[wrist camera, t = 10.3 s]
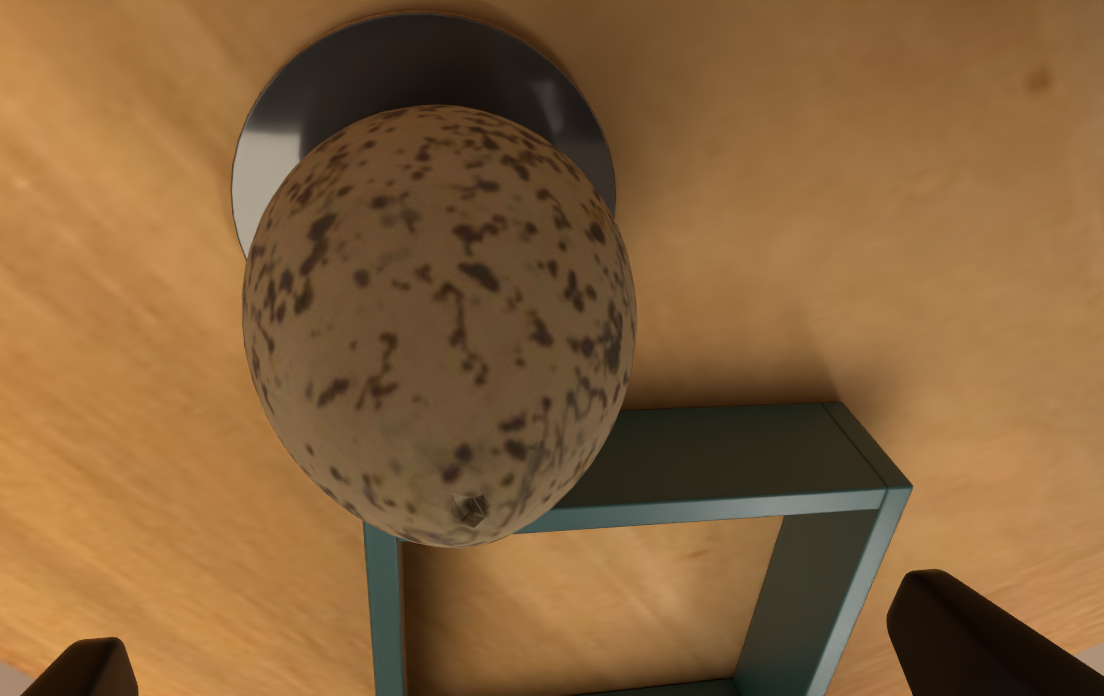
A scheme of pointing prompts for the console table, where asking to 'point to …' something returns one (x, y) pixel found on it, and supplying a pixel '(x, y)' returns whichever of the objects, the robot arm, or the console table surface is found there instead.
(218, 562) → the console table surface
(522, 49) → the coaster
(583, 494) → the frame
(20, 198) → the console table surface
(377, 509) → the decorative egg
